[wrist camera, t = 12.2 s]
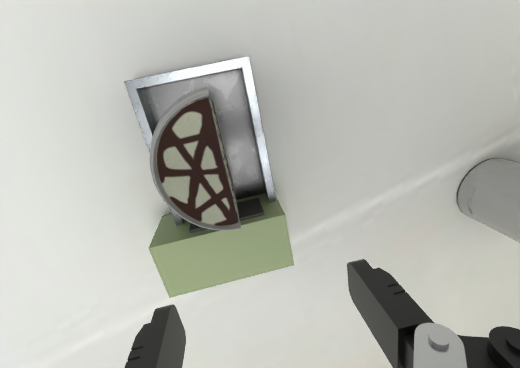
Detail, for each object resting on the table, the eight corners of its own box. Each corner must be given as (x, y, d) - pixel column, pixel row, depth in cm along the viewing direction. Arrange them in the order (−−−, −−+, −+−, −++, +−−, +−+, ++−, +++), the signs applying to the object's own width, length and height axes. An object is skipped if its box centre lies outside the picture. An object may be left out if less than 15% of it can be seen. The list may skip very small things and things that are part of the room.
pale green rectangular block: (271, 187, 33) (284, 212, 27) (280, 232, 36) (294, 265, 29) (162, 213, 32) (147, 245, 26) (178, 258, 35) (169, 297, 28)
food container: (152, 97, 27) (117, 103, 18) (210, 86, 28) (206, 85, 18) (185, 203, 32) (172, 250, 22) (235, 191, 32) (242, 234, 23)
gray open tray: (245, 60, 28) (248, 56, 24) (270, 190, 33) (276, 201, 30) (135, 82, 27) (123, 81, 24) (180, 211, 32) (176, 225, 29)
